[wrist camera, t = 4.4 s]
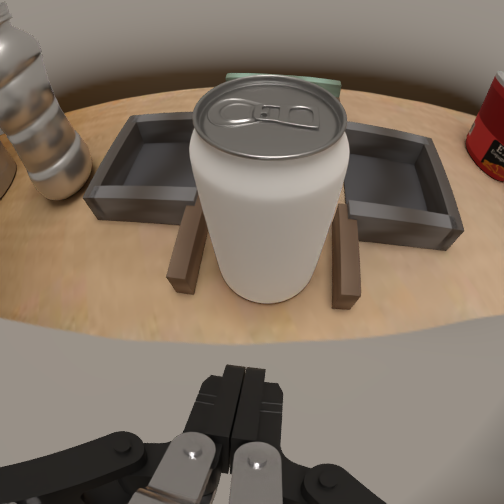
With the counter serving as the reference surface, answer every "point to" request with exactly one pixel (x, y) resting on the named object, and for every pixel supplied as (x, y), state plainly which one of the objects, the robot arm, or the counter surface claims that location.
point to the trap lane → (347, 215)
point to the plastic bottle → (37, 117)
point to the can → (268, 179)
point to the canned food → (489, 132)
